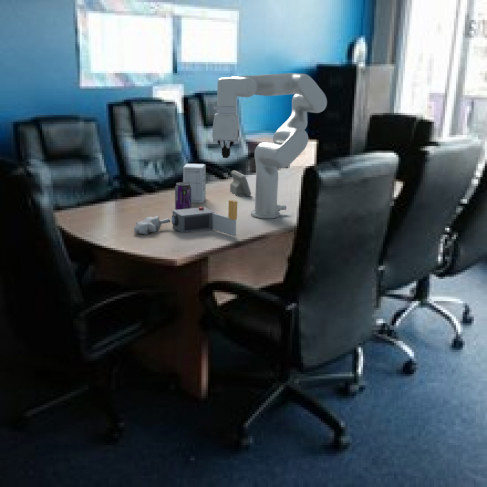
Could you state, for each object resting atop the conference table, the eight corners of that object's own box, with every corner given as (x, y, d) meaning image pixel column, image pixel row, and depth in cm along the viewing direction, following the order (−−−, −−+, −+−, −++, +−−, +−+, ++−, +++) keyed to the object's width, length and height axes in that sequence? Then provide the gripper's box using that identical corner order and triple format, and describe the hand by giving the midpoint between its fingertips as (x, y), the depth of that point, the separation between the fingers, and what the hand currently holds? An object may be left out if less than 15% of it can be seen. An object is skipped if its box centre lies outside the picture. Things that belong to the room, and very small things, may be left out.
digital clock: (251, 197, 283) (252, 175, 280) (233, 197, 282) (234, 175, 279) (246, 189, 298) (246, 169, 295) (228, 190, 297) (229, 169, 294)
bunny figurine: (127, 223, 219) (153, 210, 231) (129, 235, 221) (154, 222, 233) (146, 227, 215) (172, 214, 226) (148, 239, 217) (173, 226, 228)
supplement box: (206, 198, 277) (206, 164, 272) (202, 203, 268) (203, 167, 263) (186, 197, 278) (186, 163, 273) (182, 202, 269) (182, 166, 264)
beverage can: (188, 212, 251) (188, 185, 247) (173, 211, 252) (172, 184, 249) (193, 209, 258) (193, 182, 254) (178, 207, 259) (177, 181, 255)
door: (210, 229, 227) (210, 195, 223) (213, 228, 228) (213, 195, 224) (233, 236, 218) (234, 201, 214) (236, 235, 219) (237, 201, 215)
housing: (204, 223, 236) (204, 205, 234) (214, 229, 228) (214, 210, 226) (169, 227, 229) (169, 208, 227) (178, 233, 221) (178, 214, 219)
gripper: (205, 110, 222) (204, 157, 228) (242, 112, 218) (240, 160, 224) (211, 108, 229) (211, 154, 235) (247, 110, 225) (246, 157, 231)
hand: (225, 157), depth 230 cm, fingers closed
